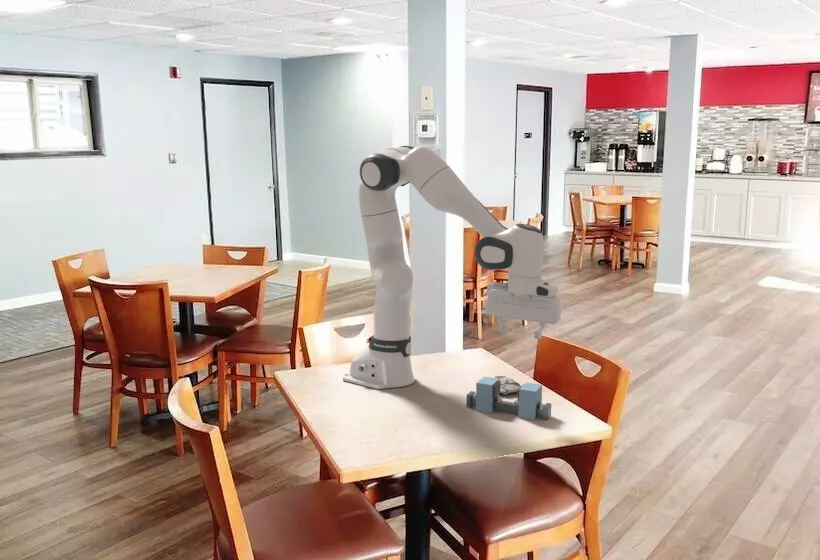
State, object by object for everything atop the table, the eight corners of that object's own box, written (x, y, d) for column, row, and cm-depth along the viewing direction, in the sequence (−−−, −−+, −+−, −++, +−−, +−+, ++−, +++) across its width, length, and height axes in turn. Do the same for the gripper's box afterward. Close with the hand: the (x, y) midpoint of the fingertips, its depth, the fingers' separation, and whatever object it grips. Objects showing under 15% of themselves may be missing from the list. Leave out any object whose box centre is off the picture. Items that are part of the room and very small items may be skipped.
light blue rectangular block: (475, 410, 208) (476, 382, 206) (483, 403, 213) (484, 376, 212) (493, 413, 206) (494, 385, 204) (500, 406, 211) (501, 378, 210)
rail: (466, 407, 210) (466, 394, 210) (470, 403, 214) (471, 391, 213) (547, 420, 201) (547, 407, 200) (550, 416, 204) (551, 403, 203)
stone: (525, 396, 220) (526, 385, 220) (496, 398, 218) (496, 387, 218) (511, 383, 232) (511, 373, 231) (483, 385, 230) (483, 375, 229)
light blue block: (516, 417, 203) (517, 388, 202) (523, 409, 209) (524, 382, 207) (534, 420, 201) (535, 391, 199) (541, 412, 206) (542, 384, 205)
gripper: (483, 282, 202) (480, 332, 204) (558, 291, 193) (554, 343, 196) (491, 279, 208) (488, 327, 210) (564, 288, 199) (560, 338, 202)
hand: (520, 335), depth 203 cm, fingers open, 8 cm apart
